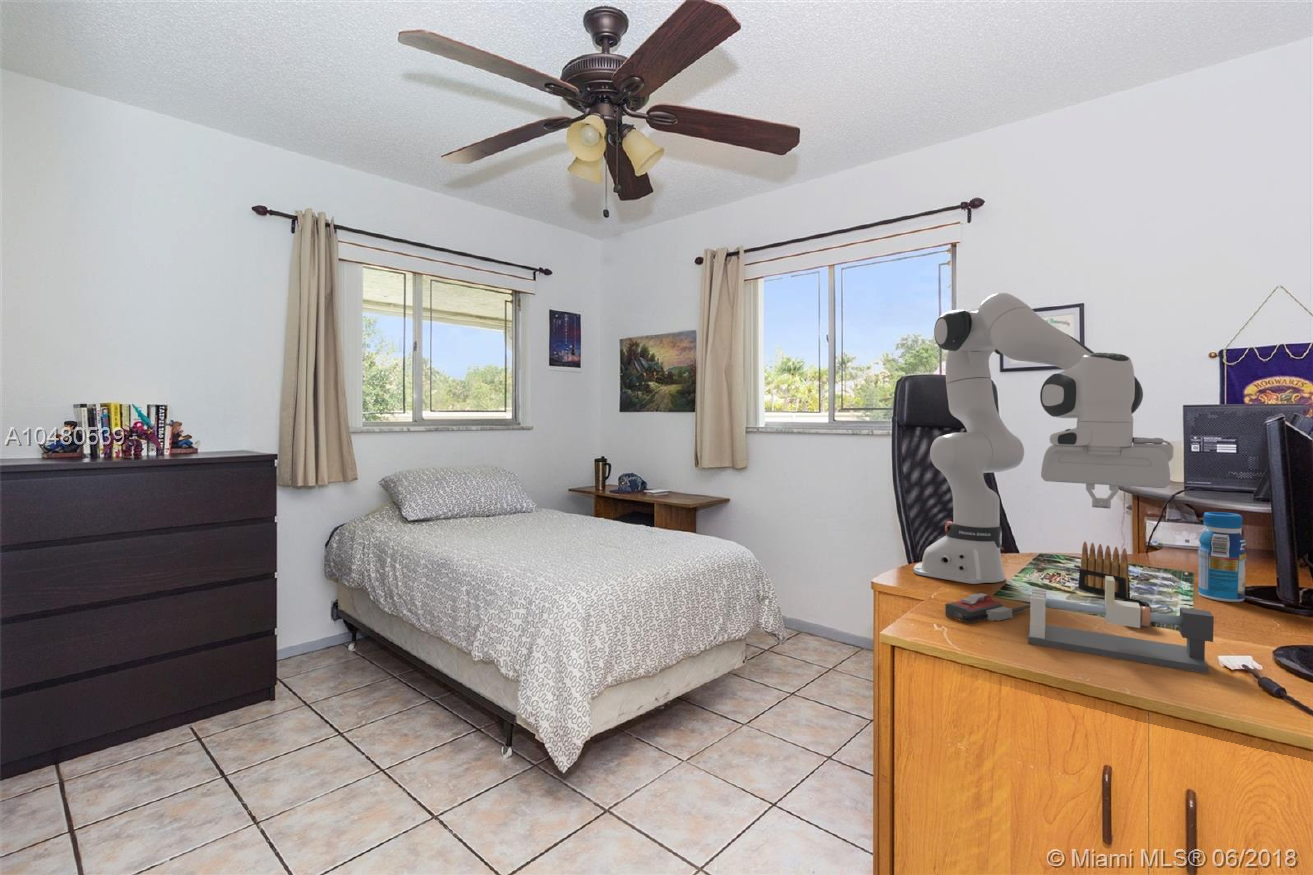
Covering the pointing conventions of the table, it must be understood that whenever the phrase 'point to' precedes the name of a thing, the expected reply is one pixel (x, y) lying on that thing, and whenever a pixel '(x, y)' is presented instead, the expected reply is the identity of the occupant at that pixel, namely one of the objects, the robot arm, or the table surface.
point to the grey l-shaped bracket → (1120, 607)
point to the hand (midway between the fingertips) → (1101, 507)
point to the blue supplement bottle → (1222, 558)
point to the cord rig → (1188, 657)
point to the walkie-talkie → (980, 609)
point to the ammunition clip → (1104, 571)
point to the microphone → (1138, 602)
